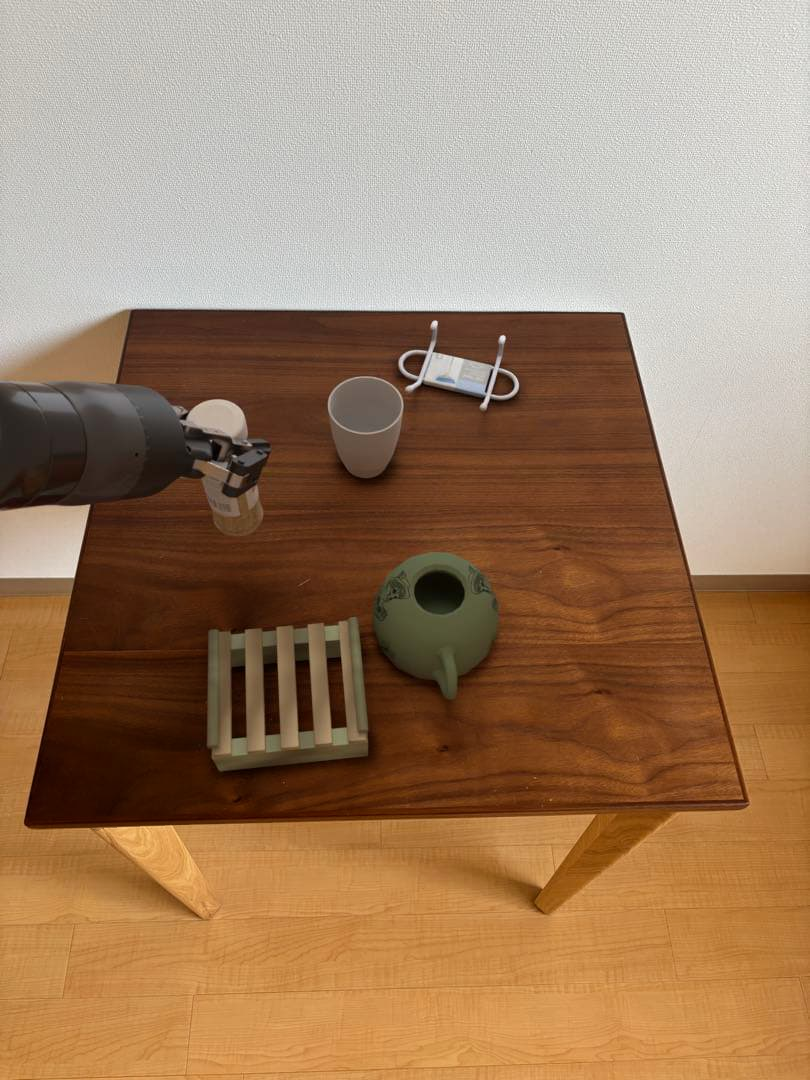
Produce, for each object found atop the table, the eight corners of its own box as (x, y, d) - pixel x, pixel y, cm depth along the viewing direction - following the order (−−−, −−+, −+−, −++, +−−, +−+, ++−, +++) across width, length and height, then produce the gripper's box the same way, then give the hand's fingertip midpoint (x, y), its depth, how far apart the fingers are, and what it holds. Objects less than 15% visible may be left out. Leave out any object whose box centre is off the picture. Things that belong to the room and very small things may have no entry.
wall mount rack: (524, 365, 105) (532, 332, 100) (504, 445, 98) (511, 413, 93) (407, 340, 107) (409, 305, 102) (379, 416, 100) (379, 383, 95)
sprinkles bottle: (274, 518, 74) (257, 420, 62) (233, 547, 72) (208, 452, 60) (242, 488, 75) (219, 387, 64) (202, 516, 73) (171, 417, 62)
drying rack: (217, 771, 76) (206, 750, 71) (218, 653, 82) (207, 625, 77) (369, 756, 77) (369, 733, 72) (358, 641, 84) (357, 612, 78)
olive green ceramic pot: (365, 580, 87) (365, 538, 80) (484, 570, 89) (494, 527, 81) (381, 724, 79) (382, 691, 72) (511, 710, 80) (526, 677, 73)
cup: (367, 423, 99) (367, 365, 90) (414, 462, 96) (419, 406, 88) (317, 459, 96) (312, 402, 87) (364, 501, 93) (363, 446, 84)
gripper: (203, 436, 48) (327, 433, 64) (23, 341, 52) (183, 361, 67) (164, 548, 50) (293, 518, 66) (-7, 449, 54) (155, 444, 69)
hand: (236, 439), depth 67 cm, fingers closed on sprinkles bottle, 4 cm apart
